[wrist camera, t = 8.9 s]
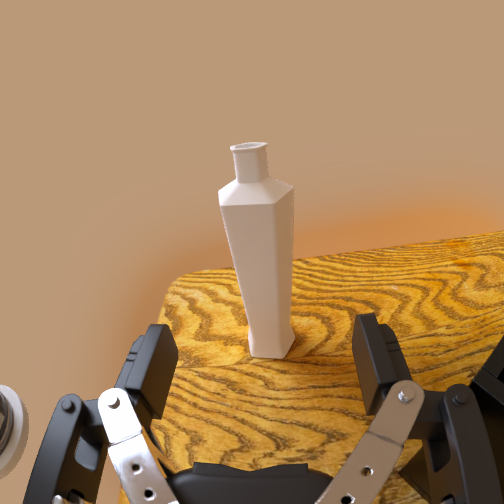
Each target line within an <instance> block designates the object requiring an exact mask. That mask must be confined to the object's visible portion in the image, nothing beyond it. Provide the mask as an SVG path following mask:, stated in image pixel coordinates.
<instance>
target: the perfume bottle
mask: <svg viewBox="0 0 504 504" xmlns="http://www.w3.org/2000/svg"><path fill="white" fill-rule="evenodd" d="M267 145H268V143H260V142H250V143H244V144H239V145H233V146H230V149H231V151H232V152H233V158H234V165H235V172H236V179H235V180H234V181H232V182H231V183H229V184H228V185H226V186H225V187H223V188H222V189H220V190H219V191H218V193H219V205H220V209H221V213H222V217H223V222H224V226H225V230H226V234H227V238H228V243H229V247H230V251H231V255H232V258H233V263H234V267H235V271H236V276H237V280H238V284H239V288H240V292H241V296H242V300H243V304H244V308H245V312H246V316H247V319H248V323H249V332H248V341H249V347H250V353H251V356H252V357H259V358H277V359H282V358H284V357H285V356H286V354H287V352H288V350H289V349H290V347H291V345H292V344H293V342H294V340H295V335H294V333H293V330H292V328H291V326H290V316H291V293H292V266H293V224H294V186H292V185H289V184H287V183H284V182H282V181H280V180H277V179H275V178H272V177H270V176H269V174H268V166H267V155H266V147H267Z"/></svg>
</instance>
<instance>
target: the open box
mask: <svg viewBox="0 0 504 504" xmlns="http://www.w3.org/2000/svg"><path fill="white" fill-rule="evenodd" d="M468 387H469V388H470V389H471V390H472V391H473V392H474V394H475V397H476V400H477V403H478V406H479V408H480V411H481V414H482V417H483V421H484V424H485V427H486V430H487V434H488V437H489V440H490V444H491V448H492V452H493V455H494V459H495V464H496V468H497V472H498V477H499V482H500V487H501V493H502V498H503V504H504V335H503V337H502V338H501V340H500V342H499V343H498V345H497V346H496V348H495V349H494V351H493V352H492V353H491V355H490V356H489V358H488V359H487V361H486V362H485V363H484V365H483V366H482V368H481V369H480V370H479V371H478V373H477V374H476V375H475V377H474V378H473V379H472V381H471V382H470V384H469V385H468ZM398 473H399V475H400V476H402V477H403V478H404V479H405V480H406V481H407V482H408V483H409V484H410V485H411V486H412V487H413V488H414V489H415V490H416V491H417V492H418V493H419V494H420V495H421V496H422V497H423V498H424V499H425V500H426V501H427V502H428V503H429V504H432V501H431V492H430V485H429V478H428V471H427V465H426V459H425V453H424V448H423V446H422V447H421V449H420V450H419V451H418V452H417V453H416V454H415V455H414V456H413V457H412V458H411V460H410V461H409V462H408V463H407V464H406V465H405V466H404V467H403V468H402V469H401V470H400V471H399V472H398Z"/></svg>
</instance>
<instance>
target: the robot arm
mask: <svg viewBox="0 0 504 504" xmlns="http://www.w3.org/2000/svg"><path fill="white" fill-rule="evenodd" d="M352 352H353V357H354V361H355V365H356V369H357V374H358V378H359V382H360V387H361V391H362V396H363V401H364V406H365V410H366V415H367V416H370V415H374V416H375V418H374V420H373V422H372V423H371V425H370V427H369V428H368V430H367V431H366V432H365V433H364V435H363V436H362V438H361V440H360V441H359V443H358V444H357V446H356V447H355V449H354V450H353V452H352V453H351V455H350V456H349V458H348V459H347V461H346V462H345V464H344V465H343V466H342V468H341V469H340V471H339V472H338V473H337V475H336V476H335V478H333V477H332V476H330V475H328V474H326V473H323V472H321V471H317V470H312V469H308V463H304V464H288V465H277V466H273V467H268V468H264V469H260V470H255V471H244V470H240V469H237V468H233V467H229V466H226V465H222V464H213V463H201V462H194V466H193V468H190V469H185V470H182V471H179V472H178V471H177V469H176V468H175V466H174V465H173V464H172V462H171V461H170V460H169V458H168V456H167V455H166V453H165V451H164V449H163V447H162V446H161V444H160V442H159V440H158V438H157V436H156V434H155V432H154V430H153V428H152V427H151V422H152V419H159V420H161V418H162V415H163V411H164V407H165V404H166V400H167V396H168V393H169V389H170V386H171V382H172V379H173V375H174V372H175V368H176V365H177V361H178V348H177V346H176V343H175V341H174V338H173V336H172V333H171V331H170V328H169V326H168V325H167V324H151V325H150V326H149V327H148V330H147V332H146V334H145V335H141V336H140V337H139V338H138V339H137V340H136V341H135V342H134V343H133V345H132V347H131V349H130V351H129V354H128V356H127V358H126V361H125V363H124V366H123V367H122V370H121V372H120V375H119V377H118V379H117V382H116V384H115V386H114V388H112V389H109V390H107V391H105V392H104V393H103V394H102V395H101V396H100V398H99V399H94V400H87V401H82V400H81V399H80V397H79V396H77V395H75V394H67V395H65V396H63V397H62V398H61V399H60V400H59V401H58V403H57V405H56V408H55V410H54V412H53V415H52V417H51V420H50V422H49V425H48V427H47V430H46V433H45V435H44V438H43V441H42V444H41V446H40V449H39V452H38V455H37V458H36V461H35V464H34V467H33V470H32V473H31V476H30V479H29V483H28V486H27V490H26V493H25V497H24V500H23V504H95V503H96V499H97V494H98V489H99V485H100V481H101V476H102V472H103V468H104V464H105V460H106V456H107V452H109V455H110V458H111V460H112V463H113V465H114V468H115V470H116V473H117V475H118V477H119V480H120V482H121V484H122V487H123V489H124V491H125V493H126V495H127V497H128V500H129V502H130V504H372V502H373V501H374V499H375V498H376V496H377V495H378V493H379V491H380V490H381V488H382V487H383V485H384V483H385V482H386V480H387V478H388V476H389V475H390V473H391V471H392V469H393V468H394V466H395V464H396V462H397V460H398V459H399V457H400V455H401V453H402V451H403V448H404V443H405V441H406V439H420V440H422V442H423V448H424V453H425V459H426V465H427V471H428V478H429V485H430V492H431V501H432V504H503V498H502V493H501V487H500V482H499V477H498V472H497V468H496V464H495V459H494V455H493V452H492V448H491V444H490V440H489V437H488V434H487V430H486V427H485V424H484V421H483V417H482V414H481V411H480V408H479V406H478V403H477V400H476V397H475V394H474V392H473V391H472V390H471V389H470V388H469V387H468V386H466V385H463V384H455V385H452V386H450V387H449V388H448V389H447V390H446V392H438V391H427V390H424V389H422V387H421V386H420V385H419V384H417V383H416V382H414V381H413V380H412V377H411V375H410V372H409V369H408V366H407V364H406V361H405V358H404V356H403V353H402V351H401V348H400V345H399V343H398V340H397V338H396V335H395V333H394V331H393V330H392V329H391V328H390V327H389V326H388V325H387V324H378V322H377V319H376V316H375V314H374V313H368V314H359V315H356V317H355V323H354V330H353V336H352ZM13 421H14V417H13V410H12V406H11V404H10V402H9V400H8V399H7V398H6V397H5V396H4V395H3V394H2V393H1V392H0V455H1V454H2V453H3V451H4V450H5V448H6V446H7V444H8V442H9V440H10V437H11V434H12V429H13ZM79 437H80V439H79ZM78 441H79V442H78ZM77 444H78V445H77ZM76 447H77V448H76ZM75 450H76V452H75Z"/></svg>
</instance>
